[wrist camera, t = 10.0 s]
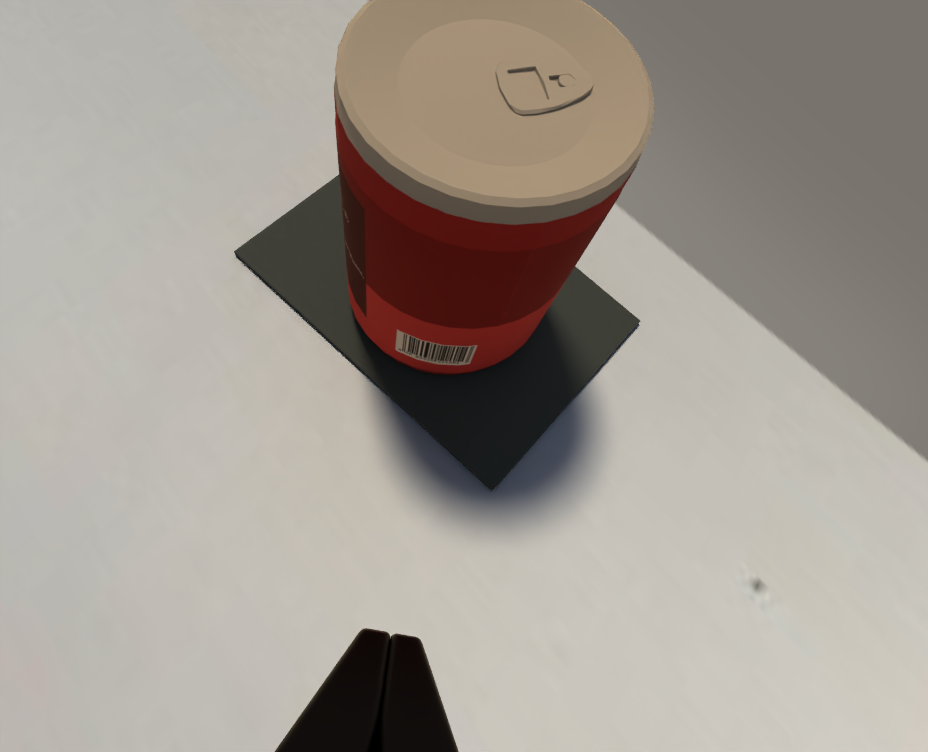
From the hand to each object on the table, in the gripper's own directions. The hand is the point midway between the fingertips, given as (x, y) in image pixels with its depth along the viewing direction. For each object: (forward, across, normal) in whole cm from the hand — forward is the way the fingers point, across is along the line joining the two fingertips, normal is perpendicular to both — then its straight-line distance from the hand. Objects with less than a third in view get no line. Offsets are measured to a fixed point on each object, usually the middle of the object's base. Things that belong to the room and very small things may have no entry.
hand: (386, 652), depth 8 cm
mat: (+18, 0, 0) cm, 18 cm away
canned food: (+18, 0, 0) cm, 18 cm away
